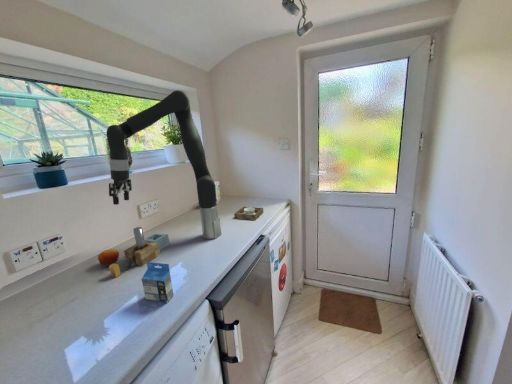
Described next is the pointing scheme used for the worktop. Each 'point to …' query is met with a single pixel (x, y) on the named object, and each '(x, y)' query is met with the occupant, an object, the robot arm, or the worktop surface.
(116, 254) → the fruit
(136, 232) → the peg
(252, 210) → the teacup
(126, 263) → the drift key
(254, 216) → the cup corral
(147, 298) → the blue retail carton
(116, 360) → the worktop surface
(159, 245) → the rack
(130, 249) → the socket block
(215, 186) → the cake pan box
